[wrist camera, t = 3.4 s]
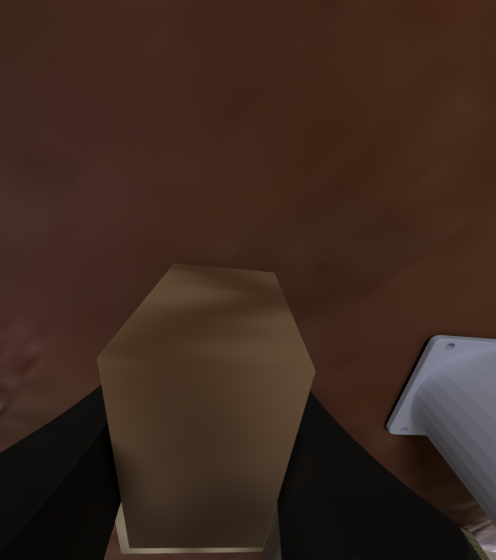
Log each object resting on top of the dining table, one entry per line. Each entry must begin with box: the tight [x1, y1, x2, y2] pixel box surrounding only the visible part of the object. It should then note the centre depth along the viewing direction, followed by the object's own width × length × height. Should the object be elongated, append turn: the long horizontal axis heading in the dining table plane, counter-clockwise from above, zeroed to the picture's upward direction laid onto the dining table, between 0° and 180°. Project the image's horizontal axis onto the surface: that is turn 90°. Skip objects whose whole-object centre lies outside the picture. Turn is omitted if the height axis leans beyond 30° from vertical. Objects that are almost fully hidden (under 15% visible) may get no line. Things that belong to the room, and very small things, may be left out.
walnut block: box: [97, 263, 316, 548], centre depth 9 cm, size 4×8×6 cm, turn 173°
